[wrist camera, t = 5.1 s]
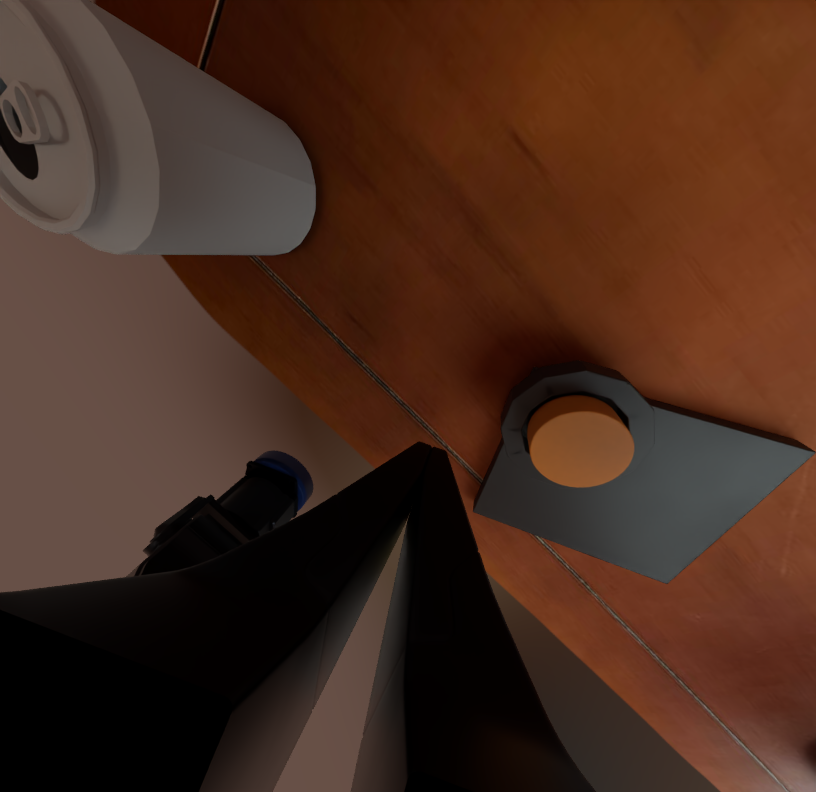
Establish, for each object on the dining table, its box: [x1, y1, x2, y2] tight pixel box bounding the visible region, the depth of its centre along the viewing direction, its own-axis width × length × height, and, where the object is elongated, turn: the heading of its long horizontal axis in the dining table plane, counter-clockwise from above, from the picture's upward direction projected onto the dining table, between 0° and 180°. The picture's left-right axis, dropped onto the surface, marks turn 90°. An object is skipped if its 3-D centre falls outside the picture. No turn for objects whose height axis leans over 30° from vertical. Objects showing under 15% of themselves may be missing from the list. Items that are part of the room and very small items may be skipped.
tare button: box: [527, 395, 634, 487], centre depth 17 cm, size 5×5×2 cm
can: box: [0, 0, 316, 255], centre depth 14 cm, size 8×8×12 cm
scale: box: [473, 360, 816, 584], centre depth 19 cm, size 16×14×3 cm
